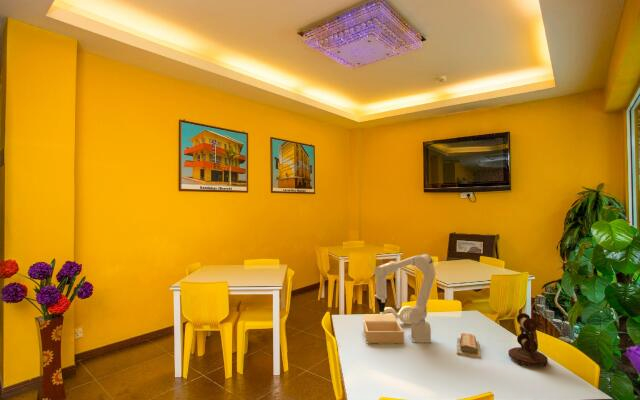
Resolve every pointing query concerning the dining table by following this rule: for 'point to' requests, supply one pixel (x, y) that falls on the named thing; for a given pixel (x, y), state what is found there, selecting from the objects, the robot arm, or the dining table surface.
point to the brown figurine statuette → (527, 343)
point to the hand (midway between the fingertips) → (381, 311)
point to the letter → (400, 313)
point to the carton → (383, 332)
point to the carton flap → (379, 318)
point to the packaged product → (468, 346)
